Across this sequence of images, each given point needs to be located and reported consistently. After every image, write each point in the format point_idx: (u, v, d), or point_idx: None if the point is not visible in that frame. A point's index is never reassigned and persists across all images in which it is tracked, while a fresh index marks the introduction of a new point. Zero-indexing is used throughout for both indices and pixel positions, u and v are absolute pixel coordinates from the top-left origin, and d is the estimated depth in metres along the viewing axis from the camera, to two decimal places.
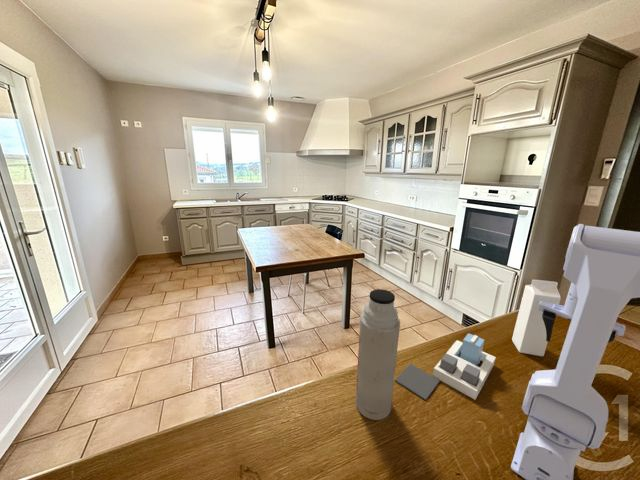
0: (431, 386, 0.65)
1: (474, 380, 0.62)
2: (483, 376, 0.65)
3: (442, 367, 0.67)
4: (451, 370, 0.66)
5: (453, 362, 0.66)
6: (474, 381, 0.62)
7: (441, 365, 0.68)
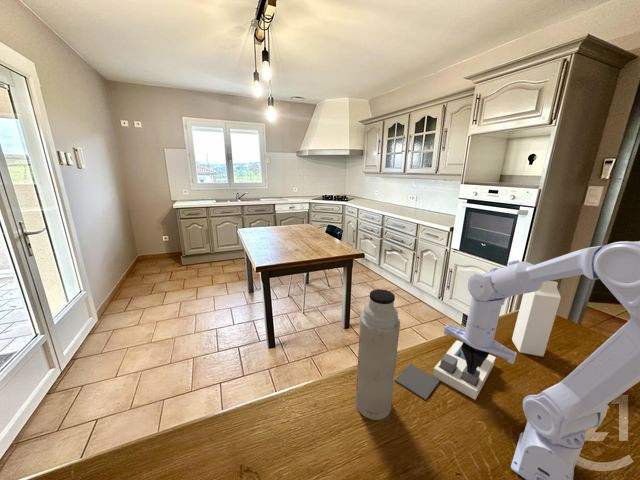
0: (431, 386, 0.65)
1: (474, 381, 0.62)
2: (483, 376, 0.65)
3: (442, 367, 0.67)
4: (451, 370, 0.66)
5: (453, 362, 0.66)
6: (474, 382, 0.62)
7: (441, 365, 0.68)
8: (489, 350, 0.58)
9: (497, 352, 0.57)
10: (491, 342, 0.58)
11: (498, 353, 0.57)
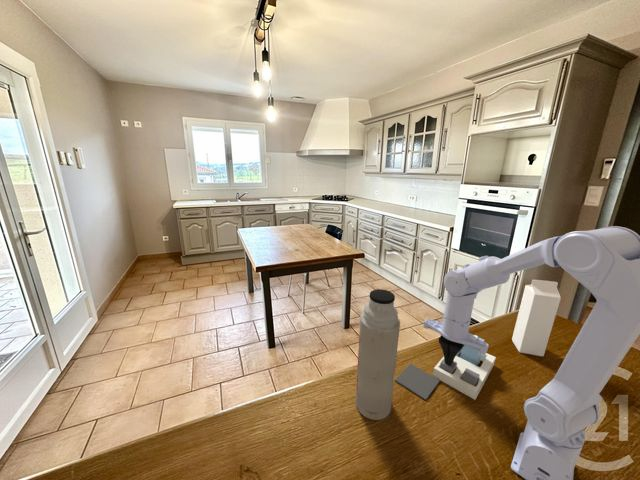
0: (431, 386, 0.65)
1: (473, 385, 0.63)
2: (483, 376, 0.65)
3: None
4: None
5: (452, 366, 0.66)
6: None
7: None
8: (463, 342, 0.62)
9: (470, 344, 0.61)
10: (465, 335, 0.62)
11: (471, 344, 0.61)
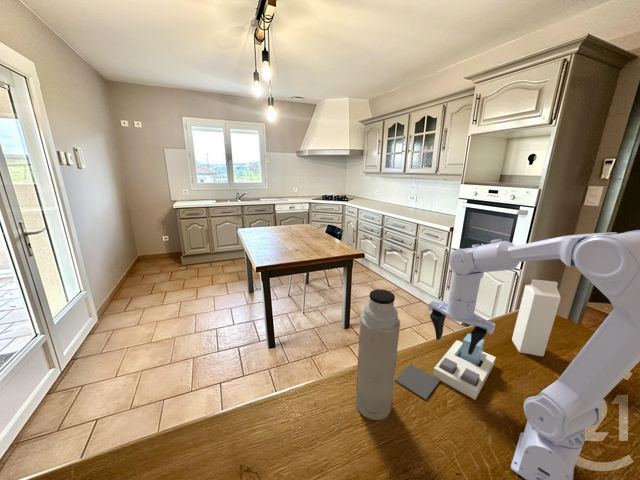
0: (431, 386, 0.65)
1: (473, 385, 0.63)
2: (483, 376, 0.65)
3: None
4: None
5: (452, 367, 0.66)
6: None
7: None
8: (469, 322, 0.61)
9: (477, 323, 0.60)
10: (471, 315, 0.61)
11: (478, 324, 0.60)
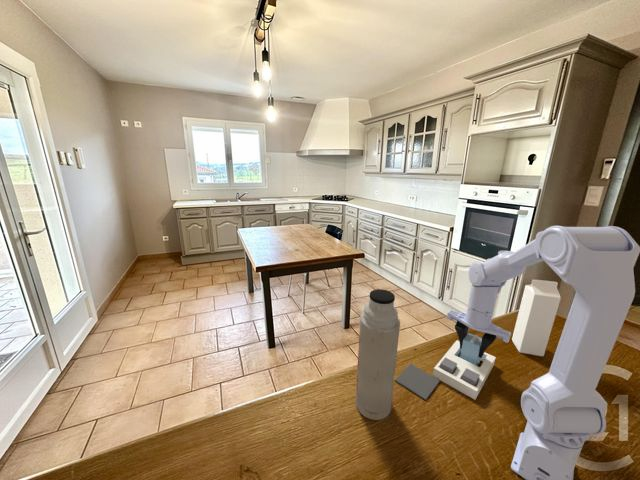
0: (431, 386, 0.65)
1: (473, 385, 0.63)
2: (483, 376, 0.65)
3: None
4: None
5: (452, 367, 0.66)
6: None
7: None
8: (487, 331, 0.66)
9: (494, 332, 0.65)
10: (489, 324, 0.66)
11: (495, 333, 0.65)
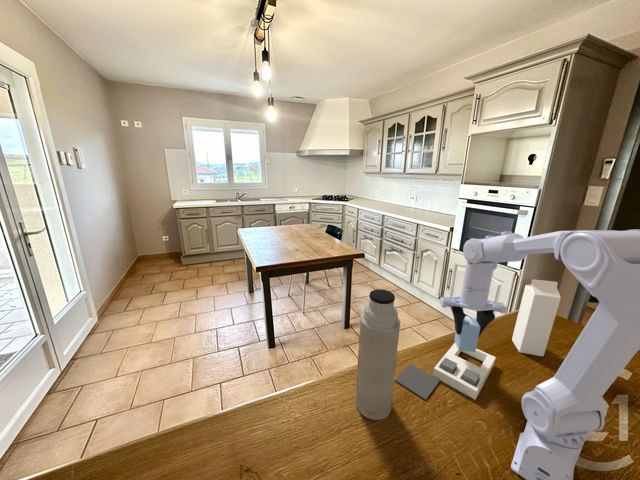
0: (431, 386, 0.65)
1: (473, 385, 0.63)
2: (483, 376, 0.65)
3: None
4: None
5: (452, 367, 0.66)
6: None
7: None
8: (489, 308, 0.64)
9: (494, 307, 0.64)
10: (487, 301, 0.65)
11: (495, 308, 0.64)
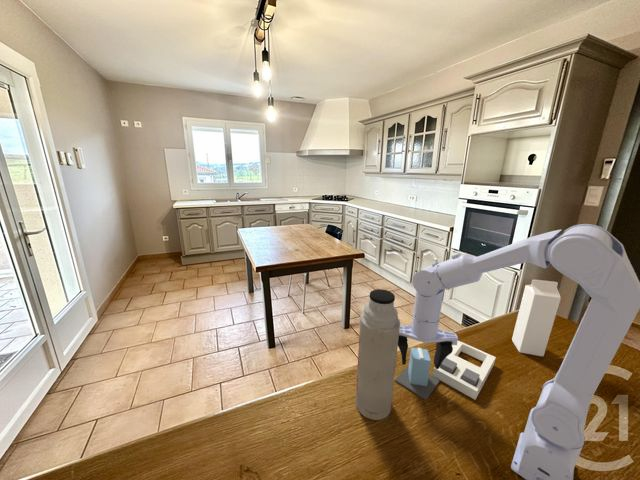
0: (431, 386, 0.65)
1: (473, 385, 0.63)
2: (483, 376, 0.65)
3: None
4: None
5: (452, 367, 0.66)
6: None
7: None
8: (439, 340, 0.60)
9: (444, 339, 0.60)
10: (437, 331, 0.61)
11: (445, 339, 0.60)
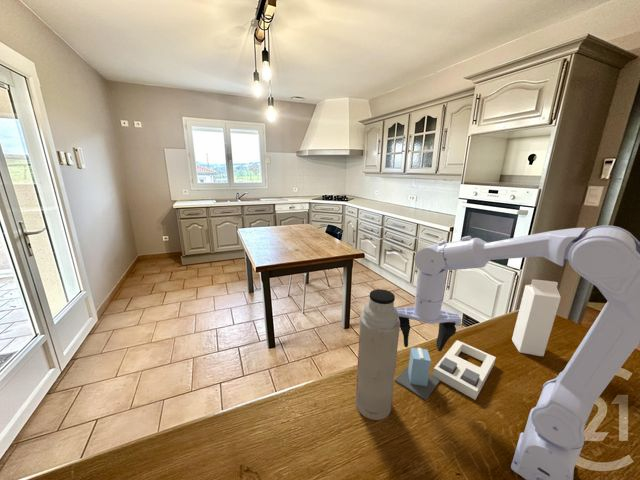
0: (431, 386, 0.65)
1: (473, 385, 0.63)
2: (483, 376, 0.65)
3: None
4: None
5: (452, 367, 0.66)
6: None
7: None
8: (442, 320, 0.58)
9: (448, 319, 0.59)
10: (440, 312, 0.59)
11: (448, 320, 0.59)
